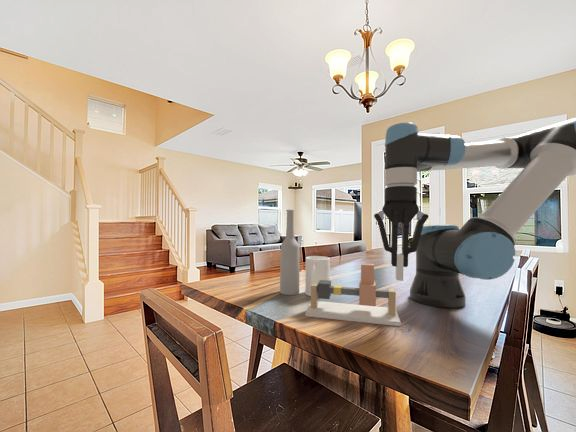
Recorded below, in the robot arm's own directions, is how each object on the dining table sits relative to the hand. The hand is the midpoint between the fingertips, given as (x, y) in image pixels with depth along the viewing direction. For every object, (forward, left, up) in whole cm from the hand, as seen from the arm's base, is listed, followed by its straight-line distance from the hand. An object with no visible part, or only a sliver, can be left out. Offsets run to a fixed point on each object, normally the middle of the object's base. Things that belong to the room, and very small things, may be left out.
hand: (399, 279), depth 69 cm
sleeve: (+8, 0, -7) cm, 10 cm away
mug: (+24, -15, -10) cm, 30 cm away
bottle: (+33, -15, -10) cm, 37 cm away
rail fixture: (+12, 0, -10) cm, 15 cm away
